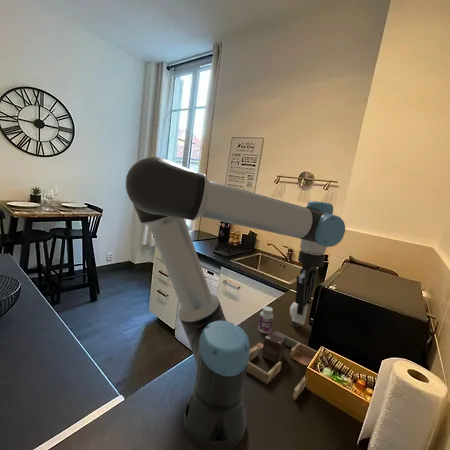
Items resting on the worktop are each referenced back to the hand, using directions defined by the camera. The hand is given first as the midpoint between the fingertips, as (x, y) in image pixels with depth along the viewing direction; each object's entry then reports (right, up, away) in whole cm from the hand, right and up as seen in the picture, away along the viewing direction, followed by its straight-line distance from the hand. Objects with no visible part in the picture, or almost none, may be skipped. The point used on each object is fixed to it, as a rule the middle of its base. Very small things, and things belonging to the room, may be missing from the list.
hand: (299, 322), depth 85 cm
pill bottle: (-8, -12, +23) cm, 27 cm away
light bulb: (+7, -13, +31) cm, 34 cm away
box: (-7, -15, +7) cm, 18 cm away
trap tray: (-6, -15, +4) cm, 17 cm away
